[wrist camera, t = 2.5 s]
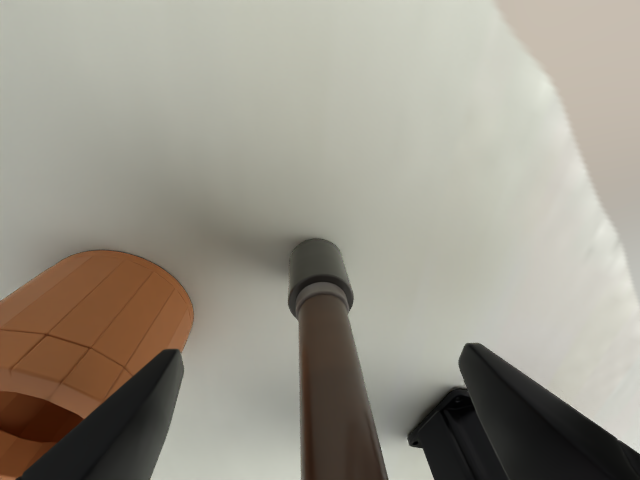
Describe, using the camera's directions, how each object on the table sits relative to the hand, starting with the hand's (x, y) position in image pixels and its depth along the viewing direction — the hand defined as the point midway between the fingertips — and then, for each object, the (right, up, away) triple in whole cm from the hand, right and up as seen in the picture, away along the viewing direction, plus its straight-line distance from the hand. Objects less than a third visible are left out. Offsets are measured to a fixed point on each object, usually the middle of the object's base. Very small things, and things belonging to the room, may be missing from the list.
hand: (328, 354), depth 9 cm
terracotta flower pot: (-10, 0, +5) cm, 11 cm away
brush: (0, +2, +5) cm, 5 cm away
